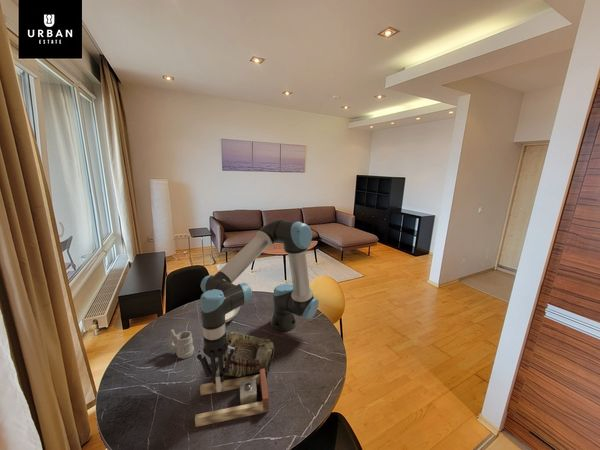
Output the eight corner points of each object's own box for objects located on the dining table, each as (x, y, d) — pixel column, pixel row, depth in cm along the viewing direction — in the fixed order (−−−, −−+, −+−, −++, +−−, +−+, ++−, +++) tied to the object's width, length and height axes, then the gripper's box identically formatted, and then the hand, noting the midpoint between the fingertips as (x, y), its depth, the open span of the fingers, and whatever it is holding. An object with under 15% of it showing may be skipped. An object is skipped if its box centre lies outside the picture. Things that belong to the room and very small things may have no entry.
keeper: (255, 390, 98) (255, 377, 97) (256, 406, 92) (256, 392, 90) (240, 392, 97) (240, 379, 96) (240, 409, 90) (240, 395, 89)
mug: (188, 360, 113) (186, 337, 110) (164, 357, 114) (162, 334, 112) (197, 348, 120) (195, 327, 118) (174, 346, 122) (172, 324, 119)
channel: (264, 380, 103) (264, 368, 102) (268, 411, 90) (268, 397, 88) (201, 392, 97) (200, 379, 96) (195, 427, 84) (194, 412, 82)
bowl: (236, 330, 136) (235, 320, 134) (208, 330, 135) (207, 320, 133) (244, 302, 165) (244, 293, 164) (222, 302, 164) (221, 293, 163)
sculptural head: (278, 326, 119) (227, 319, 119) (273, 349, 98) (211, 340, 98) (272, 362, 119) (222, 354, 119) (267, 392, 98) (205, 383, 98)
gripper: (234, 324, 91) (237, 377, 96) (196, 329, 88) (201, 383, 93) (233, 337, 84) (237, 394, 89) (193, 343, 81) (198, 401, 86)
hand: (219, 388), depth 91 cm, fingers closed
